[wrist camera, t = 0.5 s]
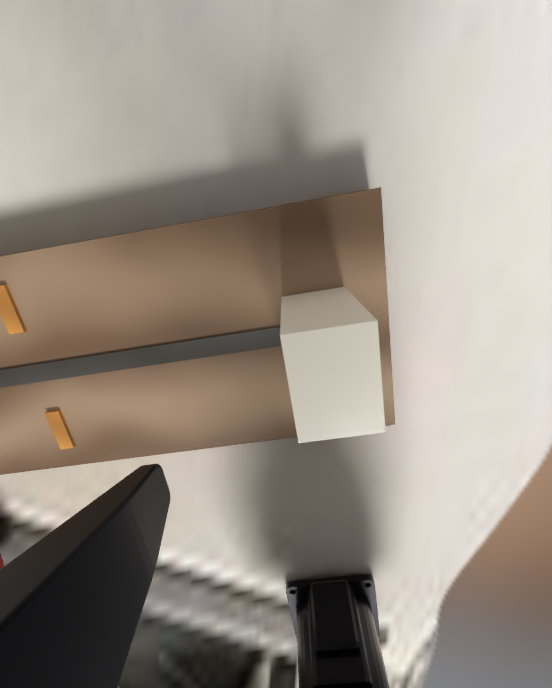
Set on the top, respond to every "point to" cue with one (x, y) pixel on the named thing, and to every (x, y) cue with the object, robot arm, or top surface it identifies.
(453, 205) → the top surface
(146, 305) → the fader console
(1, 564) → the onion
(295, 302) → the fader knob
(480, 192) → the top surface
